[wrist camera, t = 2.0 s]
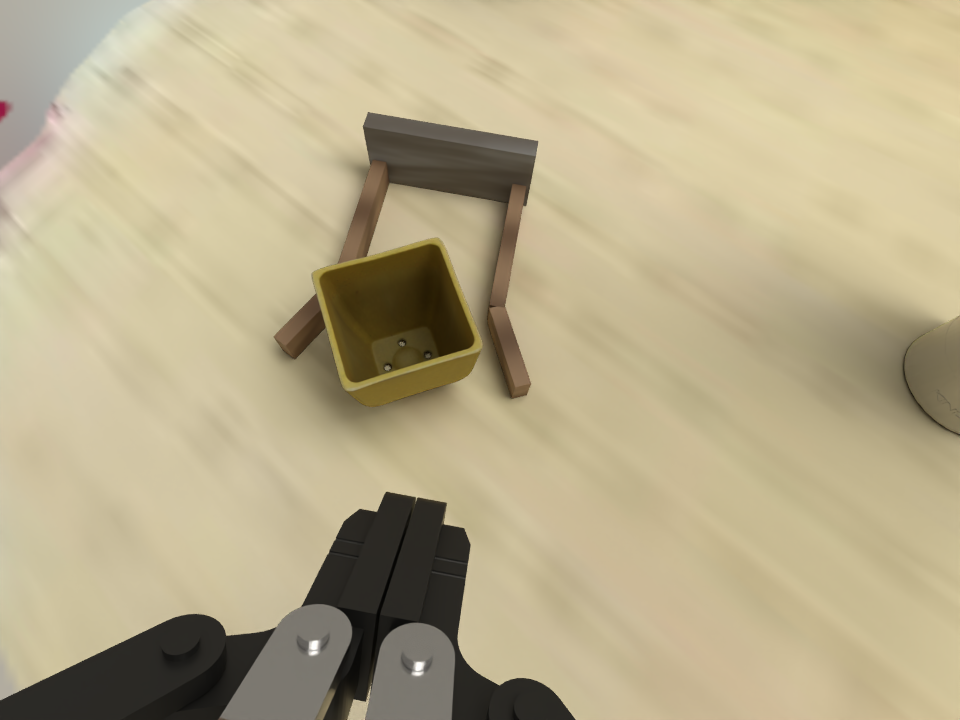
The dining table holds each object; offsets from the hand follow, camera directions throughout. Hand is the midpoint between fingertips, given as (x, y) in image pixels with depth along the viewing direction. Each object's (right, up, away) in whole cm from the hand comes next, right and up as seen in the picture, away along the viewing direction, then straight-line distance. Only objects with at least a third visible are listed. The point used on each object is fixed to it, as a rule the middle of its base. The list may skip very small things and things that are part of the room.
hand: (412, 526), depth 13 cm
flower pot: (-4, +4, +29) cm, 29 cm away
